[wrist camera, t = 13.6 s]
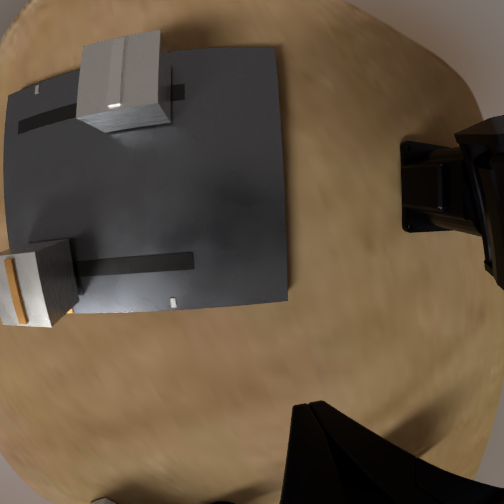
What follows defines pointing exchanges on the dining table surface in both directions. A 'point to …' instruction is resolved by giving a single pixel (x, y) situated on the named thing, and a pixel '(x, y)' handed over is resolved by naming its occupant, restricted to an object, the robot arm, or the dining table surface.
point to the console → (158, 188)
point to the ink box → (103, 501)
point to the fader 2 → (125, 82)
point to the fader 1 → (37, 283)
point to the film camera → (222, 503)
